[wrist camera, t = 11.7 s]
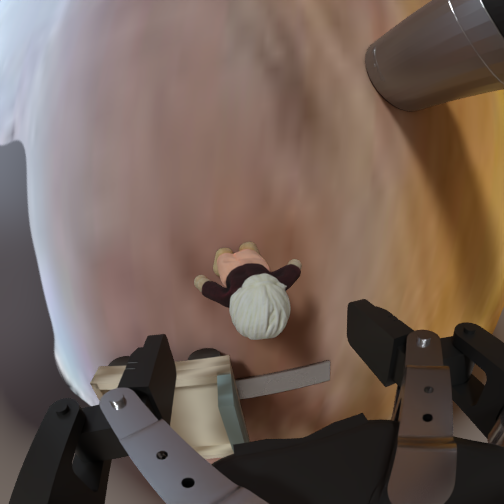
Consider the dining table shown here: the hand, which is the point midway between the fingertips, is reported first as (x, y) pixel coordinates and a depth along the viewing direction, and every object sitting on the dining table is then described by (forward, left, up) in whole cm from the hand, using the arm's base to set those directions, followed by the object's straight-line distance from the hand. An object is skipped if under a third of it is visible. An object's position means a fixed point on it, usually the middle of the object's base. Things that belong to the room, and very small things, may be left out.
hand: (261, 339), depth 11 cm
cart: (+9, +15, -15) cm, 23 cm away
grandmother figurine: (0, 0, -15) cm, 15 cm away
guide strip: (+5, +15, -15) cm, 22 cm away
